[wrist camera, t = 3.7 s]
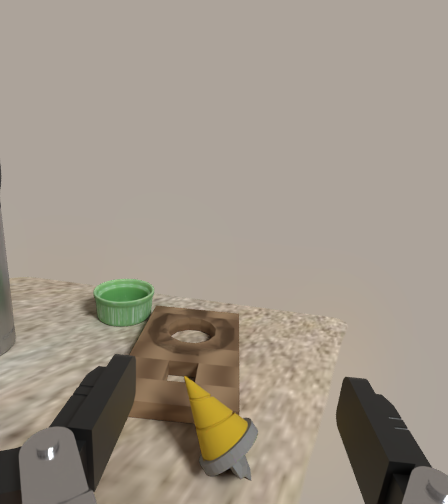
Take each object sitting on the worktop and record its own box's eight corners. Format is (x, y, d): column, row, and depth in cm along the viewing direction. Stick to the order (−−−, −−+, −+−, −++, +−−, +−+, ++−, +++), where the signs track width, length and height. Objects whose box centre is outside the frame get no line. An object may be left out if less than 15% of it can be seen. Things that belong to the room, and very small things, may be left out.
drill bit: (223, 523, 24) (151, 404, 25) (225, 481, 29) (165, 386, 30) (282, 479, 24) (207, 364, 25) (273, 446, 29) (212, 353, 31)
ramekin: (156, 303, 56) (157, 279, 54) (149, 330, 47) (150, 303, 46) (103, 301, 55) (102, 277, 53) (86, 328, 46) (85, 300, 45)
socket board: (106, 414, 32) (105, 397, 31) (156, 317, 51) (156, 305, 50) (237, 428, 31) (239, 411, 31) (237, 325, 51) (238, 313, 50)
